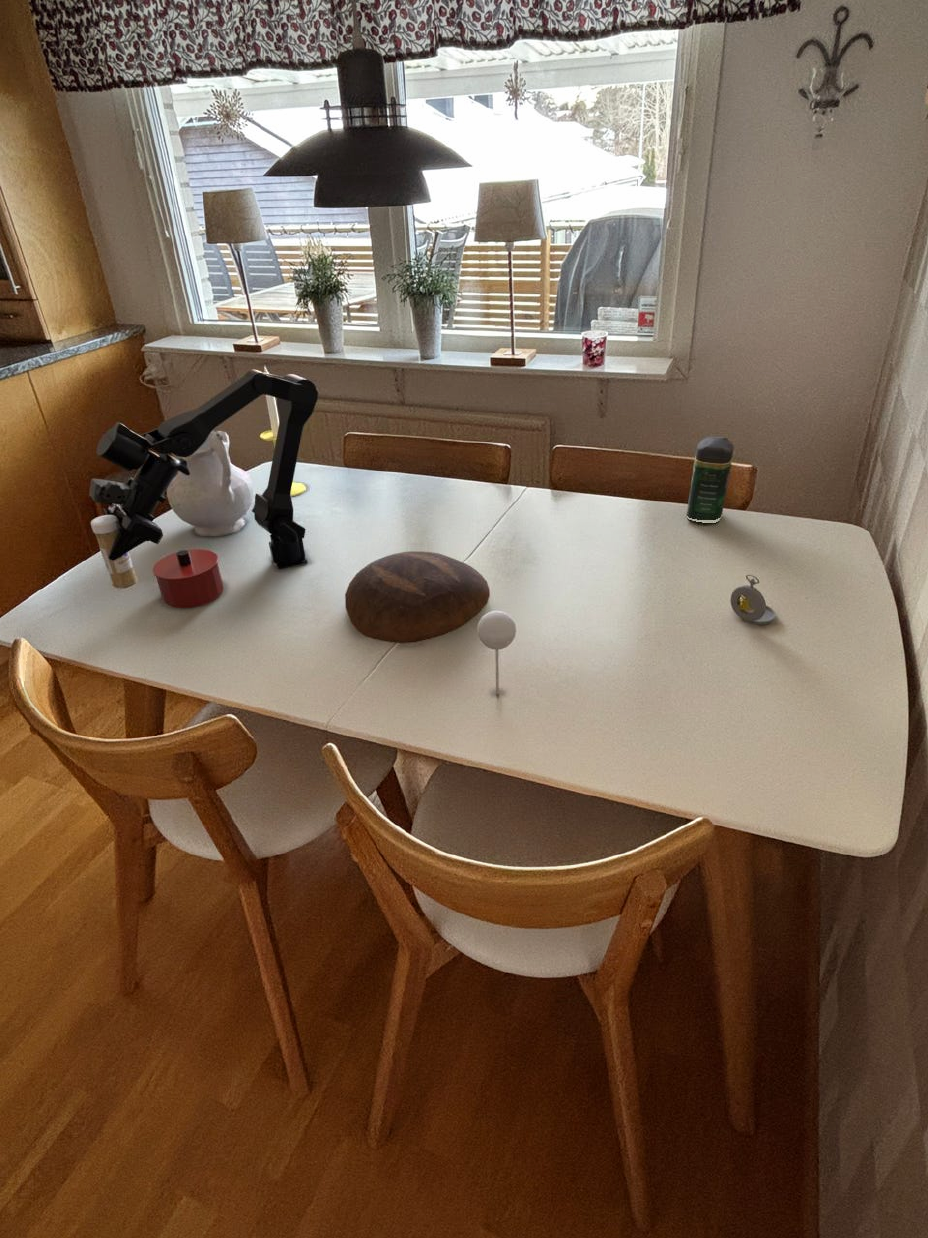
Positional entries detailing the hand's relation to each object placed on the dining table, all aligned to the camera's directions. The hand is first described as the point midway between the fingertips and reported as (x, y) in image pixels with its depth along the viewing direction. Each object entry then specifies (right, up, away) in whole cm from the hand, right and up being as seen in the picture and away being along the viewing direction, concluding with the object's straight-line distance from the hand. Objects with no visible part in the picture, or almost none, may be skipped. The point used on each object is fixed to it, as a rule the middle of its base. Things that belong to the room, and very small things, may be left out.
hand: (107, 555), depth 133 cm
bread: (+57, -10, +6) cm, 58 cm away
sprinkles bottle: (+1, -5, +4) cm, 7 cm away
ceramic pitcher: (+8, +10, +41) cm, 42 cm away
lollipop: (+71, -24, -17) cm, 77 cm away
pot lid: (+11, -1, +10) cm, 15 cm away
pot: (+11, -7, +14) cm, 19 cm away
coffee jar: (+122, +12, +35) cm, 128 cm away
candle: (+19, +22, +59) cm, 66 cm away
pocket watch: (+118, -12, -2) cm, 119 cm away
